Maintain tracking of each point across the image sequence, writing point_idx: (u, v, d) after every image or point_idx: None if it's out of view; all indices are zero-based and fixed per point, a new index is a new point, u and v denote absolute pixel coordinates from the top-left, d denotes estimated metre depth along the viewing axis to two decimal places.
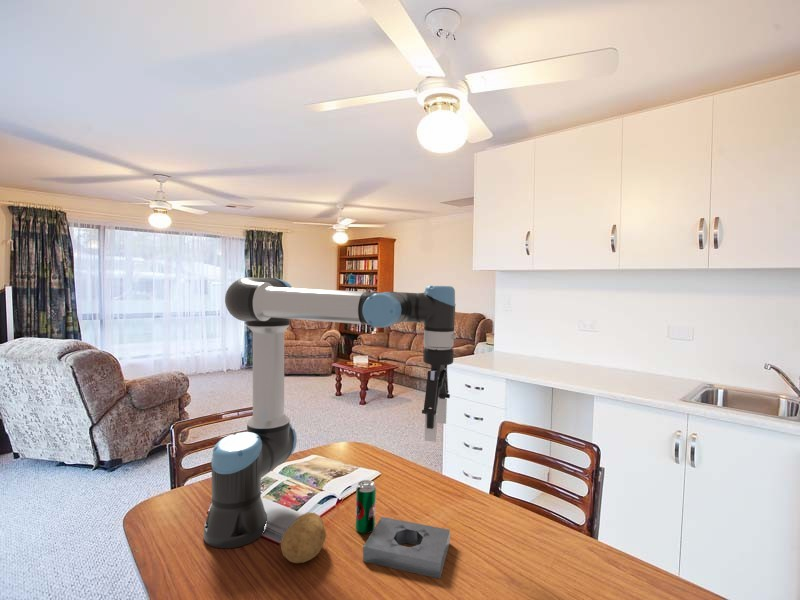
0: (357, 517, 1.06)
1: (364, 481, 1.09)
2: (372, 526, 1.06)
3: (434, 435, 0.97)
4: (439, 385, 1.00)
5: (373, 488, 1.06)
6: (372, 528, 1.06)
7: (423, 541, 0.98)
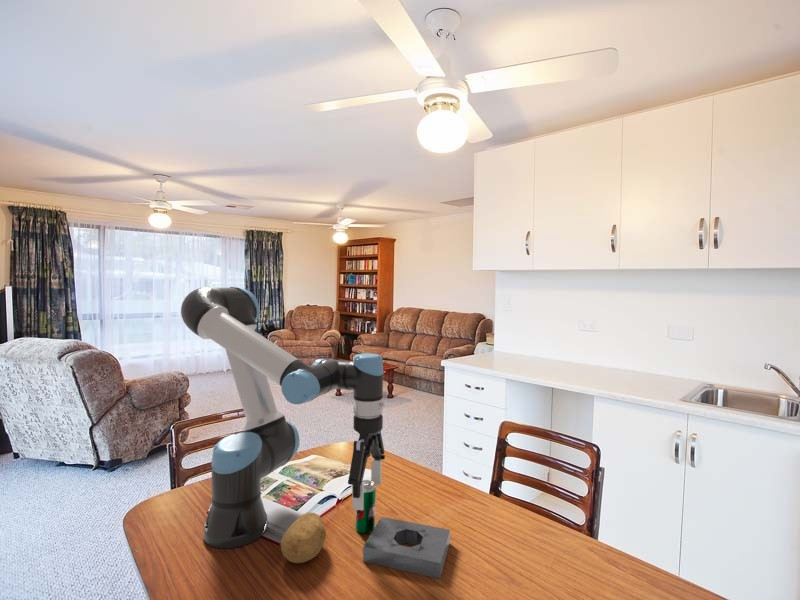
0: (357, 517, 1.06)
1: (364, 481, 1.09)
2: (372, 526, 1.06)
3: (361, 504, 1.00)
4: (367, 453, 1.03)
5: (373, 488, 1.06)
6: (372, 528, 1.06)
7: (423, 541, 0.98)
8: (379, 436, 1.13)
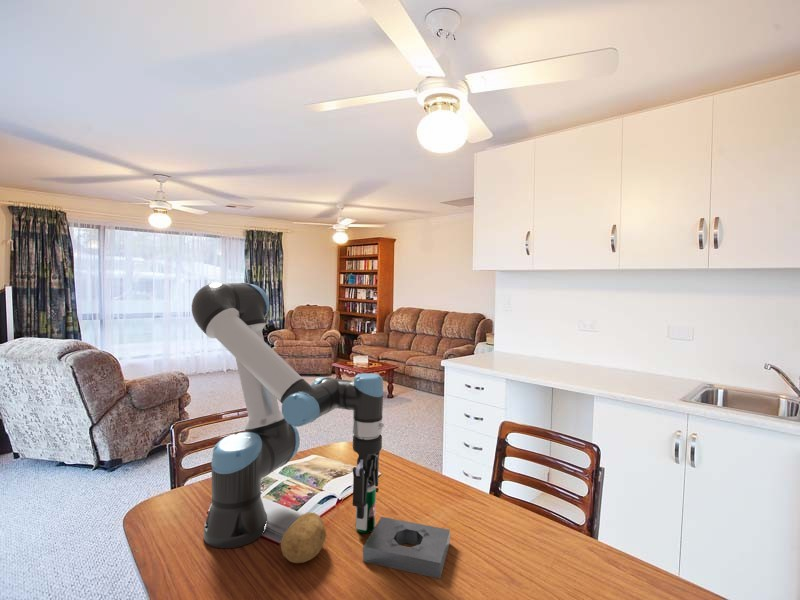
0: None
1: None
2: (372, 526, 1.06)
3: (364, 524, 1.04)
4: (367, 476, 1.04)
5: (373, 488, 1.06)
6: (372, 528, 1.06)
7: (423, 541, 0.98)
8: (376, 461, 1.12)
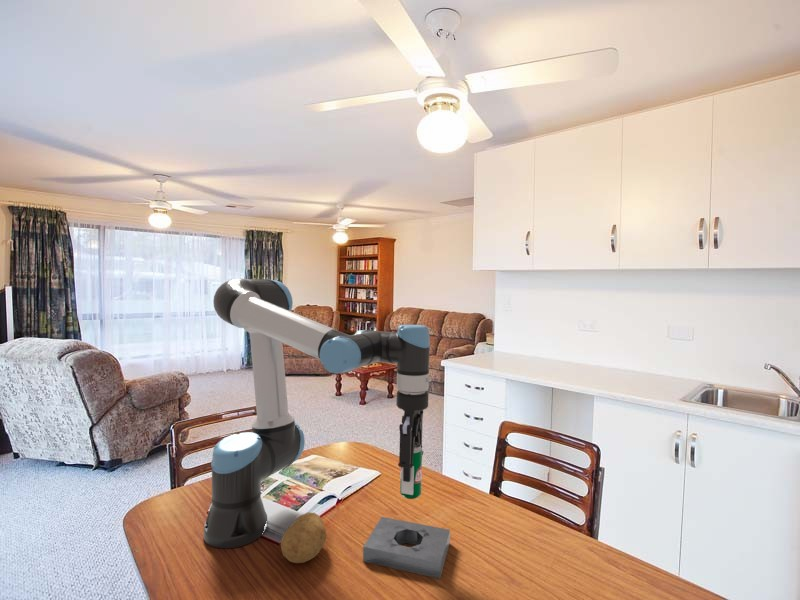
0: None
1: None
2: (419, 490, 0.97)
3: (411, 488, 0.95)
4: (414, 435, 0.95)
5: (420, 449, 0.97)
6: (419, 493, 0.97)
7: (423, 541, 0.98)
8: (420, 421, 1.02)
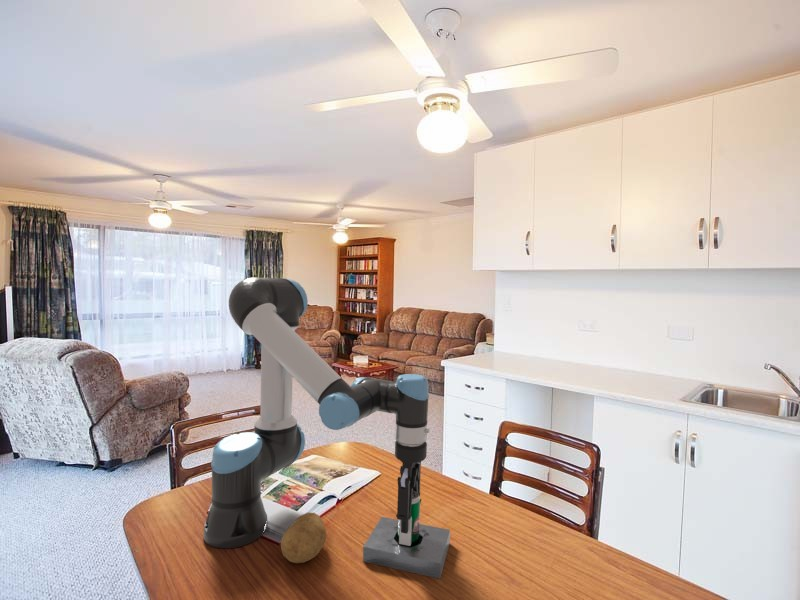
0: None
1: None
2: (417, 540, 0.97)
3: (409, 539, 0.96)
4: (412, 486, 0.96)
5: (418, 499, 0.98)
6: (416, 543, 0.97)
7: (423, 541, 0.98)
8: (419, 469, 1.03)
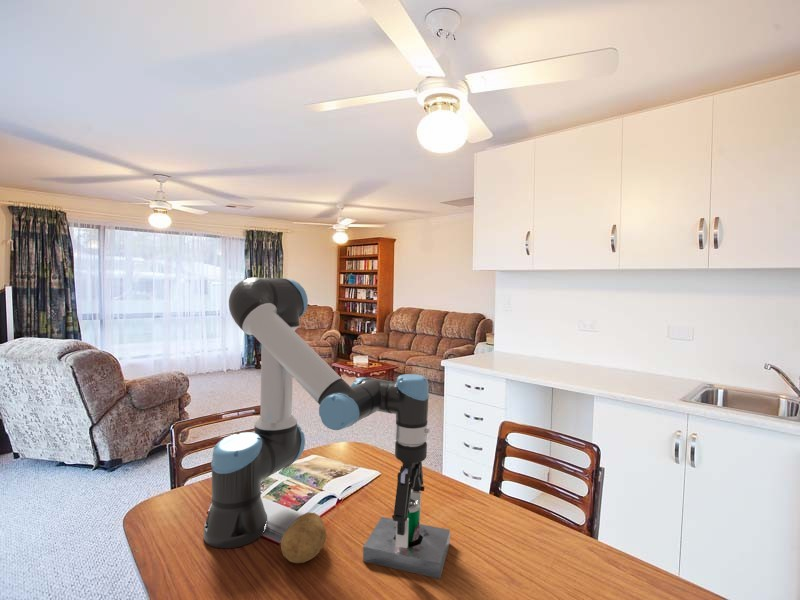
0: None
1: None
2: None
3: (405, 541, 0.92)
4: (411, 485, 0.95)
5: (417, 508, 0.98)
6: None
7: (423, 541, 0.98)
8: (420, 464, 1.04)
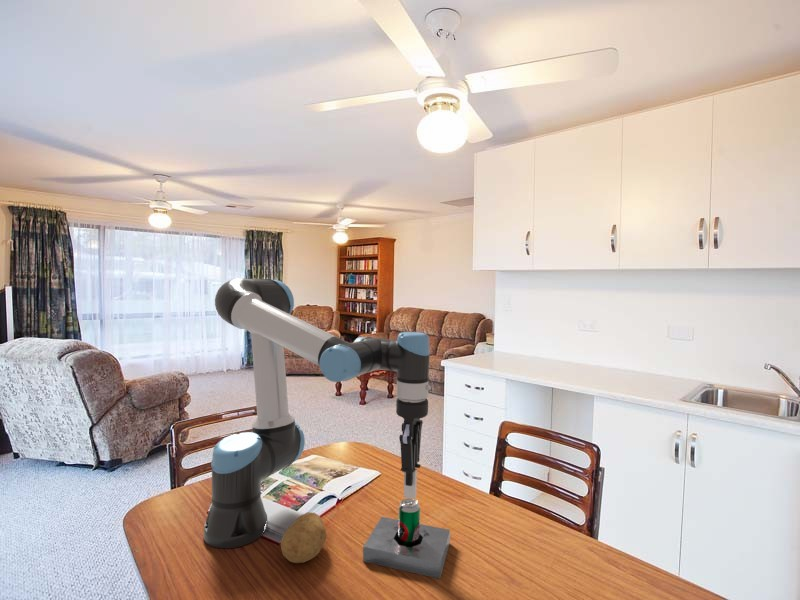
0: (400, 539, 0.97)
1: (407, 500, 1.00)
2: None
3: (413, 492, 0.98)
4: (414, 442, 0.96)
5: (417, 508, 0.98)
6: None
7: (423, 541, 0.98)
8: (419, 431, 1.02)
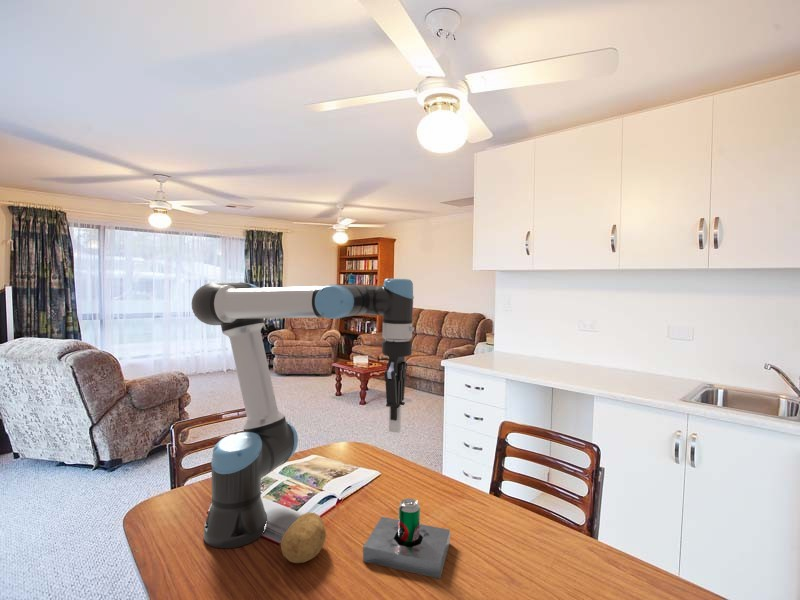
0: (400, 539, 0.97)
1: (407, 500, 1.00)
2: None
3: (397, 426, 1.05)
4: (398, 379, 1.03)
5: (417, 508, 0.98)
6: None
7: (423, 541, 0.98)
8: (404, 372, 1.09)
